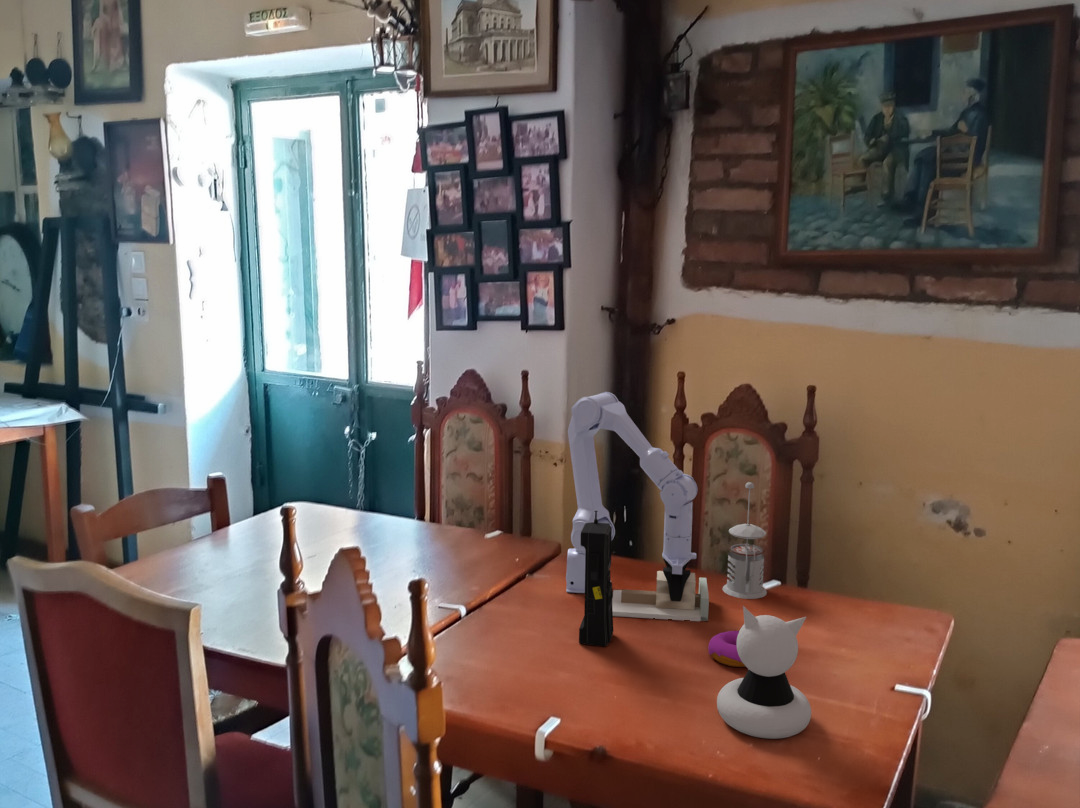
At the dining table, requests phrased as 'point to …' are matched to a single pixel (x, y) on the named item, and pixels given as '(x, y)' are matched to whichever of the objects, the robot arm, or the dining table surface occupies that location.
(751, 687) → the decorative figurine
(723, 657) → the donut
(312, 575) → the dining table surface
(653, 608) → the board
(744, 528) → the french press
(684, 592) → the saddle block
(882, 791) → the dining table surface
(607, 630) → the portable radio
